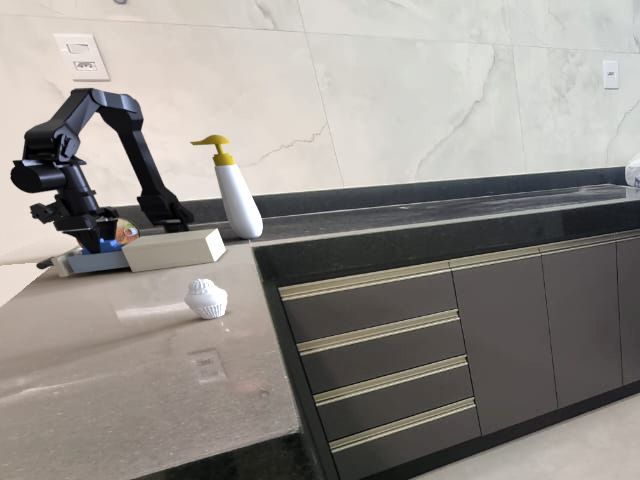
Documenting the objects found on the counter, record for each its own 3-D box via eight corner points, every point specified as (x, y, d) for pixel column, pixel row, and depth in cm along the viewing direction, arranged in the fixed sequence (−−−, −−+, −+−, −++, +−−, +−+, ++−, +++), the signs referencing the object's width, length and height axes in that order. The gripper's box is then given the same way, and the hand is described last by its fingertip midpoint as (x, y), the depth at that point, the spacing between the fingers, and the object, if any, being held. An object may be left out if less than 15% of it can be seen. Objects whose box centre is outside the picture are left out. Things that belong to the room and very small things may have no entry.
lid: (95, 261, 131) (84, 239, 129) (128, 257, 134) (117, 235, 131) (88, 265, 128) (76, 242, 125) (121, 261, 130) (111, 238, 128)
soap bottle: (225, 237, 164) (187, 136, 151) (264, 232, 169) (230, 133, 157) (228, 244, 154) (187, 136, 142) (269, 237, 160) (233, 133, 147)
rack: (35, 280, 121) (25, 262, 119) (61, 267, 132) (52, 250, 130) (143, 266, 129) (135, 249, 127) (159, 255, 140) (152, 239, 138)
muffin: (184, 323, 93) (167, 285, 90) (204, 311, 98) (189, 275, 95) (223, 320, 93) (207, 282, 90) (240, 308, 99) (226, 272, 96)
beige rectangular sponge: (132, 272, 128) (120, 247, 125) (151, 259, 140) (140, 236, 137) (215, 261, 134) (205, 237, 132) (225, 250, 146) (217, 228, 144)
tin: (91, 256, 146) (75, 226, 142) (82, 256, 147) (66, 226, 143) (146, 244, 159) (133, 215, 156) (138, 244, 160) (125, 215, 156)
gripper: (45, 187, 128) (78, 250, 134) (4, 195, 112) (43, 267, 119) (105, 182, 132) (133, 244, 139) (73, 190, 117) (106, 259, 123)
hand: (104, 253), depth 130 cm, fingers open, 9 cm apart
